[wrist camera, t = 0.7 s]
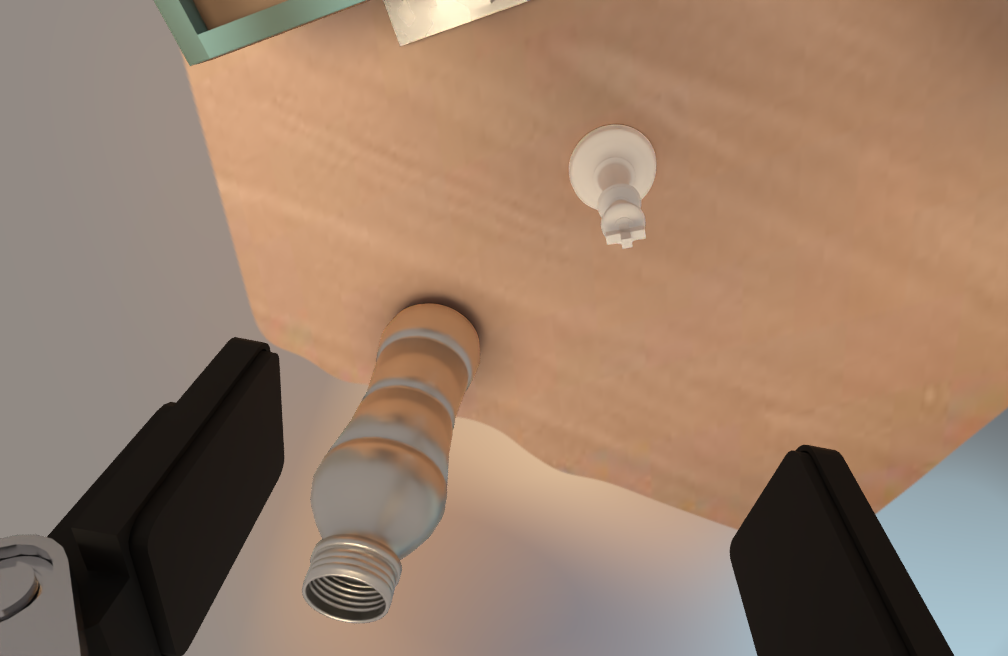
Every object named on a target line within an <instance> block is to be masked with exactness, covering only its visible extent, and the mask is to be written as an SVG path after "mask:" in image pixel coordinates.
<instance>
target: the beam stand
mask: <svg viewBox="0 0 1008 656" xmlns="http://www.w3.org/2000/svg"><path fill="white" fill-rule="evenodd" d="M527 1H530V0H383V2H384V4H385V7H386V10H387V12H388V15H389V18H390V20H391V23H392V26H393V29H394V31H395V34H396V37H397V39H398V42H399V45H400V46H403V45H405V44H408V43H411V42H414V41H417V40H419V39H422V38H425V37H428V36H431V35H434V34H436V33H439V32H442V31H445V30H448V29H451V28H453V27H456V26H459V25H462V24H465V23H467V22H470V21H473V20H476V19H479V18H482V17H484V16H487V15H490V14H493V13H496V12H499V11H501V10H504V9H507V8H510V7H513V6H515V5H518V4H521V3H524V2H527Z"/></svg>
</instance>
